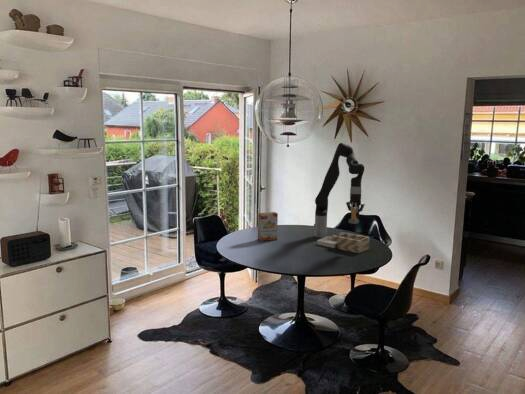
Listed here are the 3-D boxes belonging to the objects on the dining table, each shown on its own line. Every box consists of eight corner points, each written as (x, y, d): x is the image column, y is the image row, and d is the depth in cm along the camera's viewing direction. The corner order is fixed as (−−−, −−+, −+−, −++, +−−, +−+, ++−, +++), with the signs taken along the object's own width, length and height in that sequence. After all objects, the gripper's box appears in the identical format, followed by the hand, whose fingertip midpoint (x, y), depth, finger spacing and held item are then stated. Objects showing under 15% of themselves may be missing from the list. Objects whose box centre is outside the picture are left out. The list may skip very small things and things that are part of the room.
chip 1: (339, 238, 324) (339, 233, 323) (341, 237, 327) (342, 231, 326) (343, 239, 322) (344, 233, 321) (346, 238, 325) (346, 232, 324)
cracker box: (260, 241, 336) (260, 214, 332) (257, 239, 341) (257, 212, 338) (277, 240, 341) (277, 213, 337) (274, 238, 347) (274, 211, 343)
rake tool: (348, 222, 312) (349, 207, 311) (353, 222, 318) (355, 207, 317) (353, 223, 309) (355, 208, 309) (358, 223, 315) (360, 208, 315)
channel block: (331, 247, 323) (331, 235, 321) (341, 243, 334) (342, 231, 333) (358, 253, 309) (359, 241, 308) (368, 248, 320) (369, 236, 319)
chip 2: (347, 240, 320) (347, 234, 319) (349, 238, 323) (350, 233, 322) (352, 240, 317) (352, 235, 317) (354, 239, 320) (355, 234, 320)
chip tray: (316, 244, 330) (316, 240, 329) (328, 240, 342) (328, 236, 342) (334, 248, 321) (334, 244, 320) (345, 243, 333) (345, 239, 332)
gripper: (344, 192, 313) (343, 216, 316) (362, 194, 304) (361, 219, 307) (349, 191, 318) (348, 214, 321) (367, 193, 309) (366, 217, 312)
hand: (354, 216), depth 314 cm, fingers closed on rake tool, 3 cm apart
